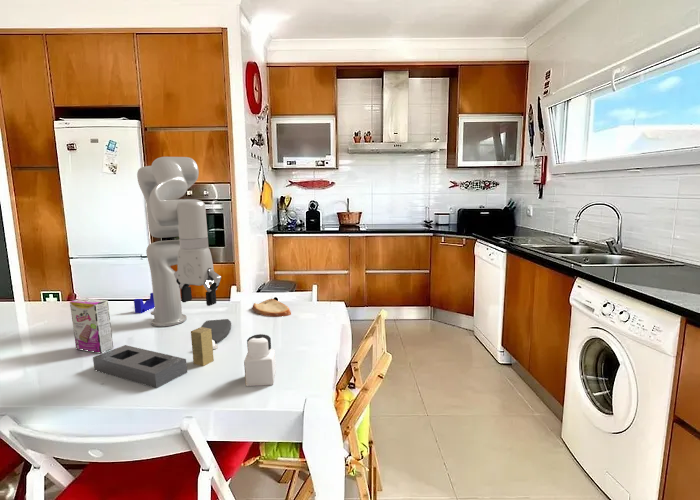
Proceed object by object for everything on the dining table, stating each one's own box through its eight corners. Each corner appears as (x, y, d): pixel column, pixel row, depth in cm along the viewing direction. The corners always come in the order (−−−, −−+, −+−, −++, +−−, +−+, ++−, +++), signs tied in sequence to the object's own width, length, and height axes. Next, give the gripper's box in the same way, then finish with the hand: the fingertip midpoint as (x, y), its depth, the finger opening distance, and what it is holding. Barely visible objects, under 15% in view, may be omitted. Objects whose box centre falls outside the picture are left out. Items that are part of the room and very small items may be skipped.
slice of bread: (290, 317, 165) (289, 308, 164) (245, 318, 165) (244, 309, 165) (296, 304, 182) (296, 296, 182) (256, 305, 183) (255, 297, 182)
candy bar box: (74, 350, 134) (68, 301, 132) (89, 345, 139) (83, 297, 137) (100, 354, 131) (94, 303, 128) (114, 348, 135) (108, 299, 133)
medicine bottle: (249, 374, 114) (247, 332, 112) (276, 373, 114) (273, 331, 113) (245, 387, 107) (242, 342, 105) (273, 385, 107) (271, 340, 106)
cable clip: (150, 305, 186) (149, 292, 185) (159, 305, 185) (158, 292, 185) (132, 313, 175) (130, 299, 174) (141, 313, 174) (140, 299, 173)
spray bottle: (233, 325, 156) (224, 351, 132) (203, 328, 155) (188, 354, 131) (232, 318, 156) (223, 343, 132) (202, 320, 154) (187, 345, 130)
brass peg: (193, 363, 122) (190, 331, 120) (203, 358, 125) (201, 327, 124) (203, 366, 120) (200, 333, 118) (213, 361, 124) (211, 328, 122)
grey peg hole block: (94, 370, 119) (92, 357, 118) (126, 357, 128) (125, 345, 127) (156, 388, 107) (154, 373, 107) (187, 372, 116) (186, 358, 115)
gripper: (161, 244, 118) (167, 303, 120) (206, 247, 110) (211, 309, 113) (183, 241, 125) (187, 297, 127) (226, 243, 117) (231, 302, 119)
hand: (199, 302), depth 120 cm, fingers open, 9 cm apart
